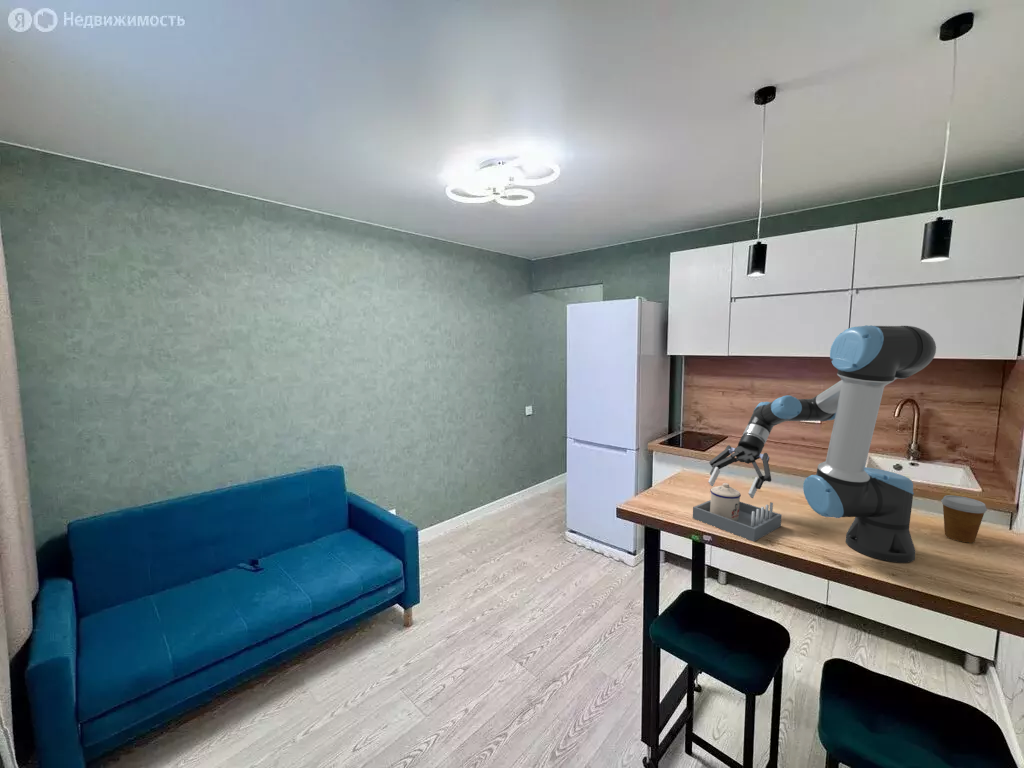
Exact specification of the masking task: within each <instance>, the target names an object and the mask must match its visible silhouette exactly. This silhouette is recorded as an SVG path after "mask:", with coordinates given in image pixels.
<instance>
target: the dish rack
mask: <svg viewBox="0 0 1024 768" xmlns="http://www.w3.org/2000/svg"><path fill="white" fill-rule="evenodd" d="M710 504H711V499H709V500H707V501H705V502H702V503H699V504H697V505H695V506H693V508H692V519H693V518H694V519H693V520H696V521H698V520H699V521H698V522H701V521H702V522H701V523H704V524H706V523H707V525H709V526H711V525H712V526H711V527H714V526H715V527H714V528H716V529H719V528H720V530H722V531H724V530H725V532H728V533H730V534H732V533H733V534H732V535H735V536H738V537H740V536H741V537H740V538H743V539H745V538H746V539H745V540H748V541H751V542H754V543H755V541H757V540H759V539H761V538H763V537H765V536H766V535H768V534H770V533H771V532H773V531H775V530H777V529H779V528H781V526H782V515H783V514H781V513H777V512H775V511H774V510H773V509H774V508H773V507H774V502H769V504H765V507H764V506H761V507H759V506H755V505H752V504H749V503H747V502H743V501H740V503H739V519H738V520H737V521H734V520H731V519H728V518H725V517H722V516H720V515H717V514H714V513H711V512H710Z"/></svg>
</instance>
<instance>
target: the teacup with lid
mask: <svg viewBox="0 0 1024 768" xmlns="http://www.w3.org/2000/svg"><path fill="white" fill-rule="evenodd" d="M709 492H710V500H711V504H710V512H711V513H714V514H717V515H720V516H722V517H725V518H728V519H731V520H734V521H737V520H738V519H739V503H740V502H741V501H740V499H741V498H740V497H741V492H740V491H739V490H737V489H735V488H734V487H731V486H730V484H729V483H727V482H723V483H722V484H721V485H718V486H712V487H711V489H710V491H709Z"/></svg>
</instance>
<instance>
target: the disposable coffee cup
mask: <svg viewBox="0 0 1024 768" xmlns="http://www.w3.org/2000/svg"><path fill="white" fill-rule="evenodd" d="M941 503H942V510H943V527H944V536H945V535H946V536H947V537H946V536H945V537H946V538H948V537H949V538H948V539H950V538H951V539H950V540H953V539H954V540H953V541H956V540H958V541H957V542H960V541H962V542H961V543H965V542H969V543H968V544H973V543H972V542H974V543H975V542H976V539H977V536H978V533H979V530H980V528H981V523H982V521H983V518H984V514H985V513H986V512H987V511H988V508H987V506H986V503H984V502H983V501H980V500H978V499H974V498H970V497H966V496H962V495H961V496H959V495H951V494H949V495H944V496H943V498H942V499H941Z"/></svg>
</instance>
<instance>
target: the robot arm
mask: <svg viewBox="0 0 1024 768" xmlns="http://www.w3.org/2000/svg"><path fill="white" fill-rule="evenodd" d="M936 344H937V343H936V342H935V339H934V337H933V336H931V334H930V333H929V332H927V331H926V330H925V329H922V328H920V327H917V326H912V325H859V326H852V327H849V328H847V329H844V330H843V331H842V332H840V333H839V334H838V335H837V336H836V337H835V338H834V340H833V342H832V344H831V346H830V351H829V359H830V360H831V363H832V365H833V367H834V368H836V369H837V372H836V375H837V376H838V377H839V378H840V380H839V381H837V382H836V383H835V384H833V385H832V386H830V387H828V388H827V389H825V390H824V391H822V392H821V393H819V394H817V395H816V396H814V397H812V398H797V397H795V396H793V395H783V396H781V397H780V396H779V397H778V398H776V399H774V400H773V401H771V402H770V401H761V402H759V403H758V404H757V405H756V407H755V408H754V410H753V412H752V414H751V417H750V419H749V421H748V422H747V426H746V427H745V429H744V430H743V433H742V435H741V437H740V439H739V441H738V444H737V447H732V446H731V445H730V444H729V445H728V444H727V445H726V447H725V448H724V450H723V451H721V452H720V453H719V454H717V456H715V457H714V458H712V459H711V460H710V461H709V462H708V463H709V464H710V467H712V469H711V470H710V472H709V475H710V477H709V479H708V483H709V486H711V487H714V486H715V482H716V481H717V479H718V477H719V474H720V473H721V469H723V468H724V467H727V466H729V465H731V464H733V463H737V462H739V463H745V464H752V465H753V468H754V470H755V472H756V474H757V476H755V478H754V479H753V482H752V484H751V486H750V487H749V490H748V495H749V497H750V498H751V499H754V497H755V495H756V493H757V490H761V488H762V487H763V484H764V482H769V483H771V481H772V476H771V475H772V474H771V470H770V464H769V461H770V456H769V454H768V453H767V452H764V453H762V452H763V450H764V446H765V444H766V442H767V441H768V438H769V435H770V434H771V432H772V430H773V427H774V426H777V425H780V424H782V423H784V422H826V421H832V420H834V421H833V426H832V431H831V435H830V438H829V443H828V449H827V453H826V458H825V461H823V462H820V463H819V464H817V468H816V474H811V475H808V476H807V477H805V479H804V481H803V485H802V488H803V495H804V498H805V500H806V501H807V504H808V505H809V507H810V508H811V510H813V511H814V512H815V513H816V514H817V515H819V516H821V517H825V518H835V519H841V518H854V519H853V521H852V523H851V525H850V526H849V528H848V529H847V531H846V534H845V543H846V545H847V546H848V547H850V548H851V549H852V550H855V551H856V552H859V553H860V554H862V555H865V556H868V557H871V558H873V559H878V560H881V561H886V562H890V563H891V562H892V563H902V564H904V563H905V564H907V563H912V562H913V561H915V559H916V548H915V545H914V542H913V538H912V535H911V533H910V524H911V515H912V507H913V497H914V494H915V492H914V482H913V481H912V479H910V477H907V476H905V475H902V474H899V473H896V472H892V471H889V470H885V469H880V468H875V467H866V466H867V460H868V455H869V452H870V448H871V444H872V440H873V435H874V431H875V426H876V423H877V419H878V416H879V415H878V414H879V411H880V406H881V402H882V399H883V398H882V397H883V393H884V390H885V387H886V386H887V385H889V384H892V383H894V381H895V380H897V379H898V380H899V379H900V380H905V379H907V378H910V377H912V376H913V375H915V374H917V373H918V372H920V371H922V370H924V369H925V368H926V367H927V366H928V365H929V364H930V363H931V362H932V361H933V360H934V358H935V356H936V353H937V345H936ZM759 459H761V460H762V465H763V471H764V475H763V474H762V473H763V472H762V471H761V470H760V467H759V465H758V464H757V462H756V461H758V460H759Z"/></svg>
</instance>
